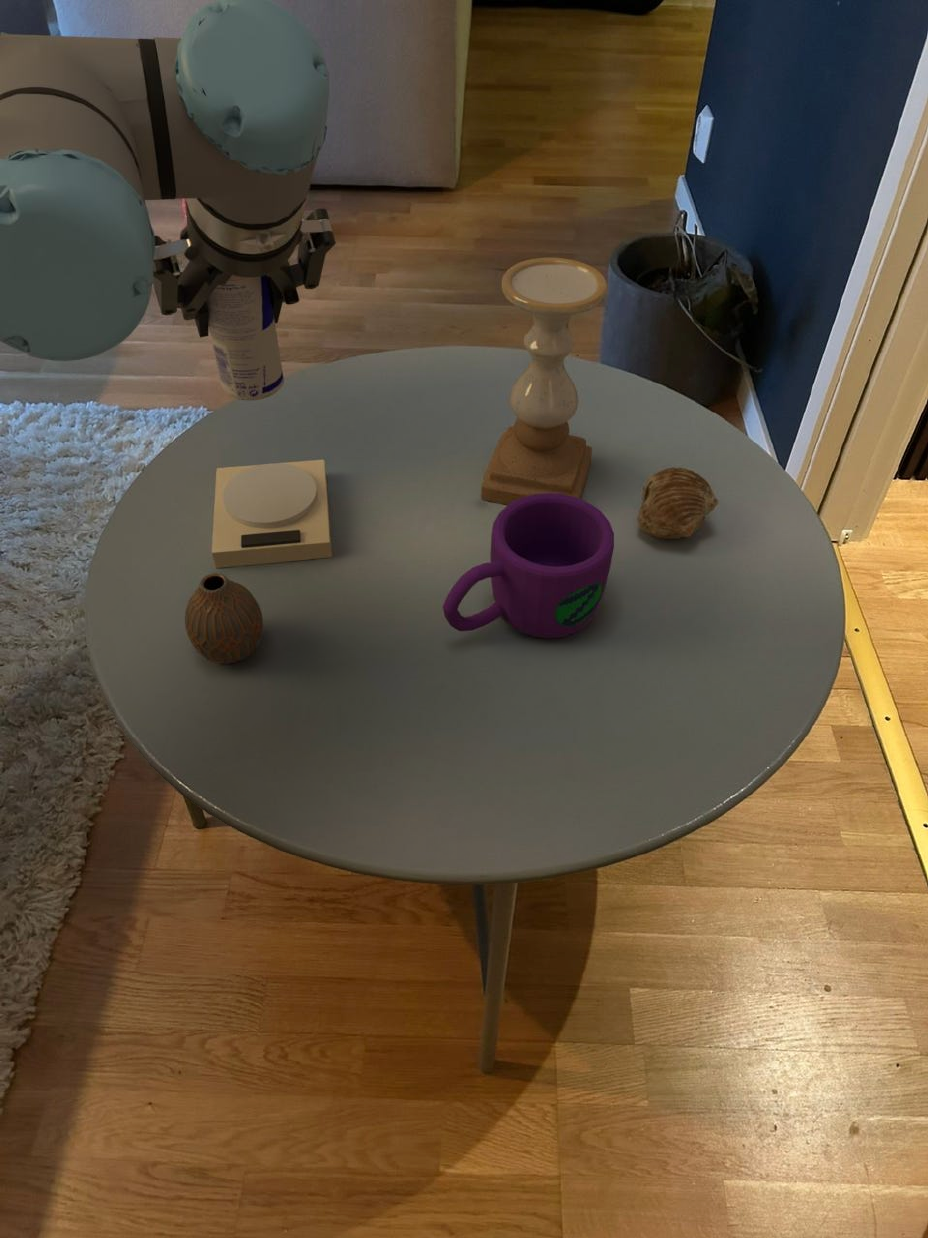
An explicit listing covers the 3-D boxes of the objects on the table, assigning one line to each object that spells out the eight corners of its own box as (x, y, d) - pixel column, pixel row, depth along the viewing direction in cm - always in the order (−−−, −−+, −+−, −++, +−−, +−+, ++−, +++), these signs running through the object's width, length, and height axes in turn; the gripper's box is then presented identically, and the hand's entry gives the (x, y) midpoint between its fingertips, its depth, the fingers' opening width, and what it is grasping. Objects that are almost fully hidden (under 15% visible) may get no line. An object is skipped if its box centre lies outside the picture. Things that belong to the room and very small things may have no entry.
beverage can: (294, 393, 82) (269, 229, 71) (234, 411, 80) (200, 244, 69) (271, 364, 85) (244, 202, 74) (214, 380, 83) (178, 216, 73)
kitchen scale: (215, 568, 94) (210, 546, 92) (220, 483, 103) (215, 462, 101) (332, 557, 95) (329, 536, 93) (326, 474, 104) (323, 453, 102)
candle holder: (575, 517, 100) (602, 316, 82) (479, 499, 102) (485, 299, 84) (592, 458, 107) (619, 262, 89) (502, 443, 109) (511, 248, 91)
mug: (559, 551, 96) (568, 476, 89) (625, 619, 89) (641, 544, 82) (415, 612, 90) (412, 537, 82) (475, 690, 83) (477, 616, 76)
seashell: (711, 512, 102) (641, 492, 103) (730, 461, 96) (657, 440, 98) (698, 563, 95) (624, 541, 96) (718, 511, 90) (640, 488, 91)
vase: (182, 667, 85) (159, 602, 78) (213, 615, 89) (194, 549, 83) (251, 681, 84) (234, 616, 77) (278, 627, 88) (265, 562, 82)
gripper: (115, 282, 57) (141, 377, 79) (396, 235, 61) (345, 337, 84) (80, 162, 56) (116, 291, 78) (366, 124, 61) (324, 256, 83)
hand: (235, 315), depth 81 cm, fingers closed on beverage can, 6 cm apart
